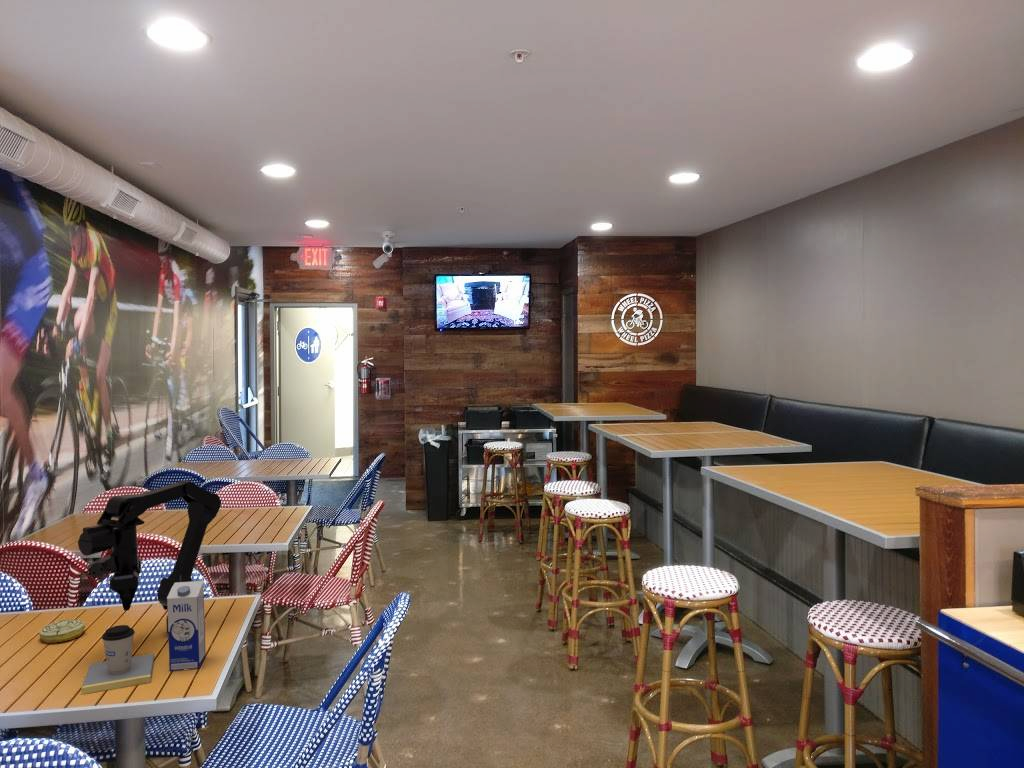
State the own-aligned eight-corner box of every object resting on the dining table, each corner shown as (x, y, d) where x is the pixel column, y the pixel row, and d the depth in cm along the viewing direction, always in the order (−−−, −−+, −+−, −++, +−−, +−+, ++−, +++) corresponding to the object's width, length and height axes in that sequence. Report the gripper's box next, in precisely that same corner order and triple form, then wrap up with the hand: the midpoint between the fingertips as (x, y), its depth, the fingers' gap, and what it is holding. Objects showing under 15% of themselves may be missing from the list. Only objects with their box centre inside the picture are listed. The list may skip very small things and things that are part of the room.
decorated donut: (69, 627, 202) (68, 614, 202) (93, 633, 197) (93, 620, 197) (31, 641, 193) (30, 627, 192) (55, 647, 188) (55, 633, 188)
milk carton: (206, 657, 181) (204, 579, 180) (199, 668, 174) (197, 588, 173) (176, 659, 179) (174, 581, 179) (168, 671, 173) (166, 590, 172)
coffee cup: (132, 660, 176) (131, 621, 175) (138, 670, 170) (137, 629, 170) (100, 668, 171) (99, 628, 171) (105, 679, 166) (104, 636, 165)
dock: (154, 659, 180) (153, 653, 180) (150, 682, 167) (150, 676, 167) (90, 669, 174) (90, 663, 174) (81, 694, 161) (81, 688, 161)
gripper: (92, 540, 187) (95, 598, 188) (84, 559, 171) (87, 622, 172) (139, 534, 192) (142, 591, 193) (136, 552, 175) (139, 614, 176)
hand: (127, 604), depth 183 cm, fingers open, 9 cm apart
